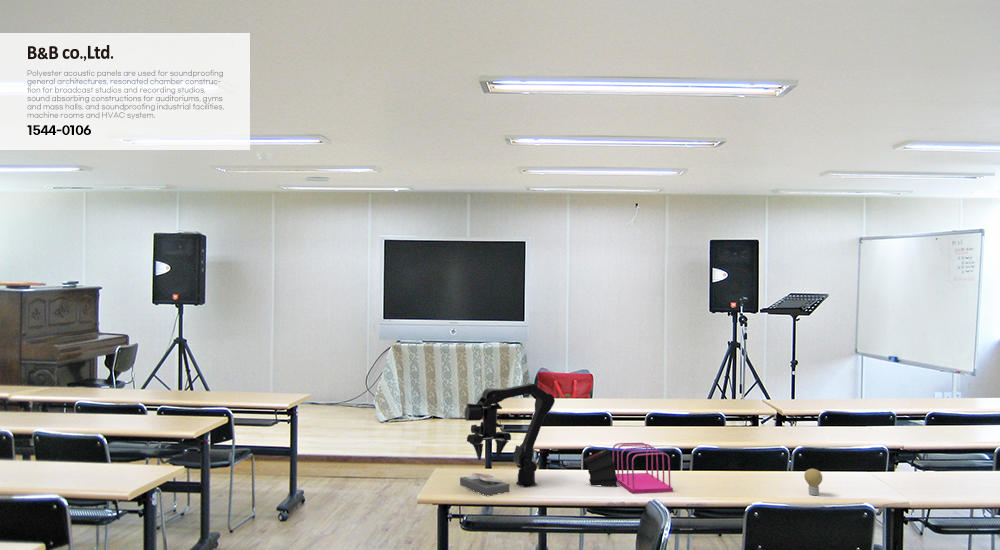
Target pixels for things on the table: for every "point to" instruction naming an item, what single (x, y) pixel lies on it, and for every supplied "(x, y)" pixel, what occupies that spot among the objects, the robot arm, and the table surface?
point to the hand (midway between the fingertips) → (488, 458)
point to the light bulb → (813, 480)
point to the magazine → (601, 469)
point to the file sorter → (642, 480)
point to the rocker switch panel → (484, 485)
